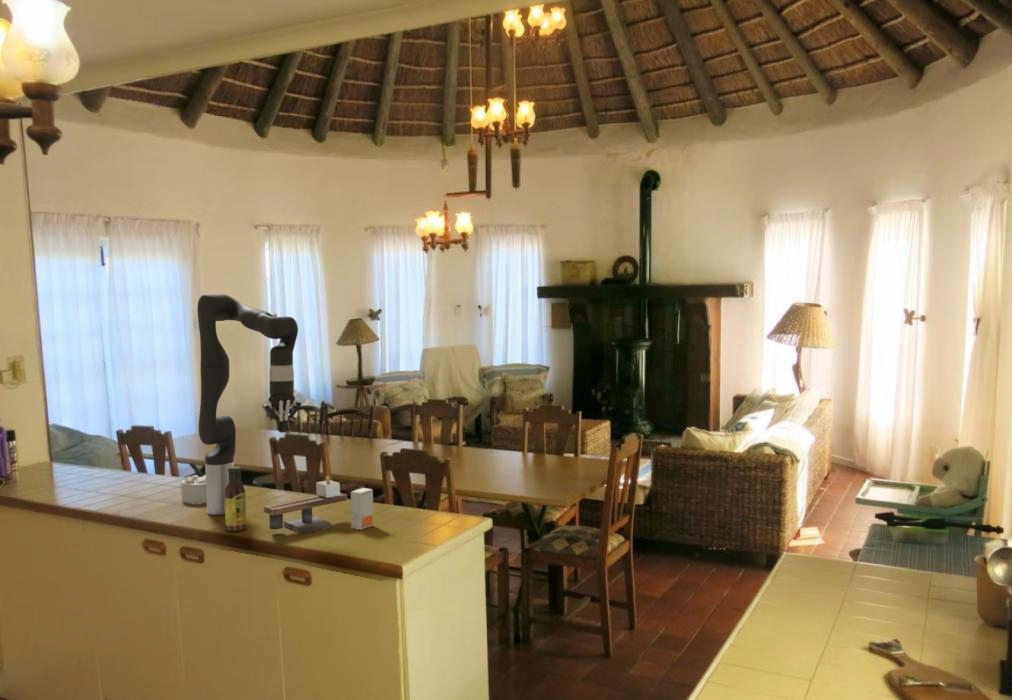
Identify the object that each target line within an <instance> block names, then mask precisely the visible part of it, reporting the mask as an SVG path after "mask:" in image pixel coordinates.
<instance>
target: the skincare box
mask: <svg viewBox="0 0 1012 700" xmlns="http://www.w3.org/2000/svg"><path fill="white" fill-rule="evenodd" d="M373 492H374V490H373V489H372V488H367V487H362V488H359V489H355V490H353V491H351V492H350V517H351V518H350V525H351V529H353V528H355V529H354V530H358V529H360V530H359V531H362V530H364V528H365V529H368V528H370V527H373V526H374V493H373ZM367 527H368V528H367ZM361 529H362V530H361Z"/></svg>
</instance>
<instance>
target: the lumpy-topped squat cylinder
mask: <svg viewBox="0 0 1012 700" xmlns="http://www.w3.org/2000/svg"><path fill="white" fill-rule="evenodd" d="M180 483H181V484H180V485H181V486H180V487H181V489H180V490H181V502H182V501H183V502H182V503H184V502H187V503H186V504H189V503H196V504H195V505H200V504H199V503H205V504H207V503H206V502H207V496H206V474H204V475H203V476H199V475H197V474H196V475H192V476H188V477H187V476H186V478H184V479H183V480H181V481H180Z"/></svg>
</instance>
